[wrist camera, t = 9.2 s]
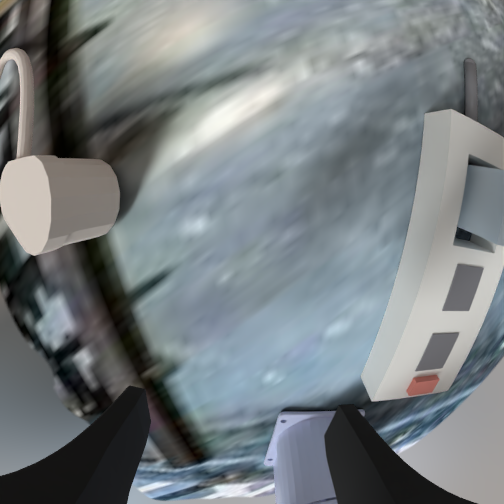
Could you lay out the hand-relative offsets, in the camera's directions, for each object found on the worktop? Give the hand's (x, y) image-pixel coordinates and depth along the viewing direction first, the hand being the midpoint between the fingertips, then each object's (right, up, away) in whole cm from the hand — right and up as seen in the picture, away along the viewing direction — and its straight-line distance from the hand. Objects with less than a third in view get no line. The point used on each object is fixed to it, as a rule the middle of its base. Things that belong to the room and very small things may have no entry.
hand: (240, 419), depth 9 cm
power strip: (+15, +8, +7) cm, 18 cm away
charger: (+15, +10, +7) cm, 19 cm away
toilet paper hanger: (-15, +12, +7) cm, 20 cm away
